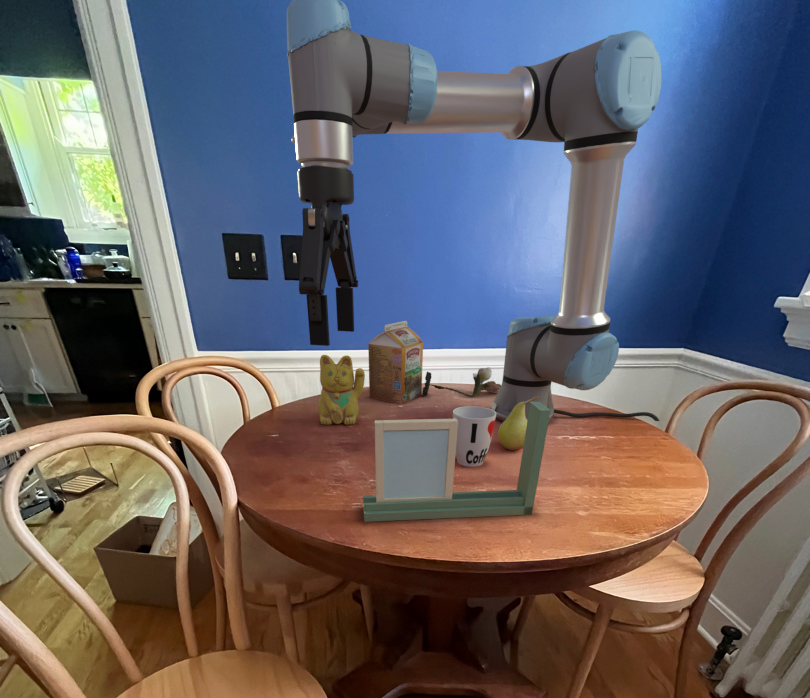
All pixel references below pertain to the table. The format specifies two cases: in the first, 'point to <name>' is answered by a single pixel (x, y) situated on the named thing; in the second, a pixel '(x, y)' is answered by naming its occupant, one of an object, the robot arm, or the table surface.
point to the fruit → (514, 427)
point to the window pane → (415, 459)
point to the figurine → (339, 391)
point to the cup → (473, 434)
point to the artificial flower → (478, 378)
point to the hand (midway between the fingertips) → (334, 337)
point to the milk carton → (395, 364)
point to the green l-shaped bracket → (482, 500)
